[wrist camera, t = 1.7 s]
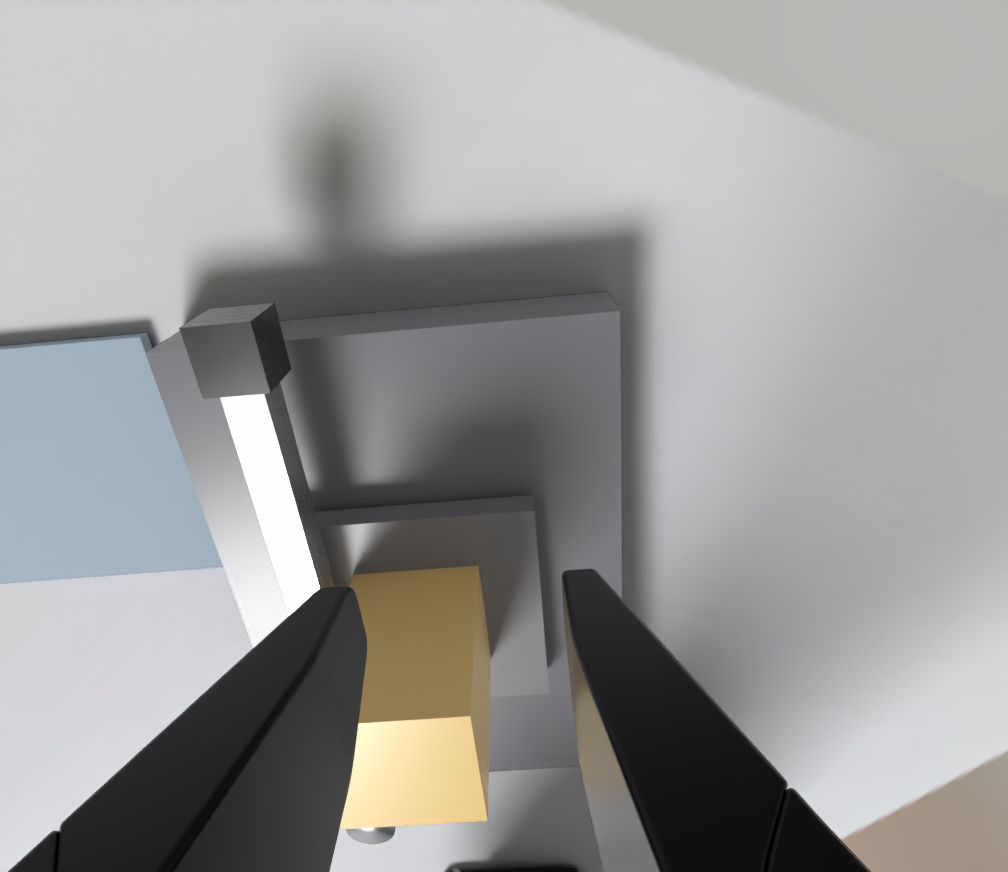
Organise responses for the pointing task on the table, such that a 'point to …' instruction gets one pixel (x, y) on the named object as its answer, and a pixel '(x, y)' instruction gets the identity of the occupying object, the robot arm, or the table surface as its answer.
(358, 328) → the socket plate
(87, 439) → the mat
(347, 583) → the plug
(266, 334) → the metal lever bar
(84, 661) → the table surface
